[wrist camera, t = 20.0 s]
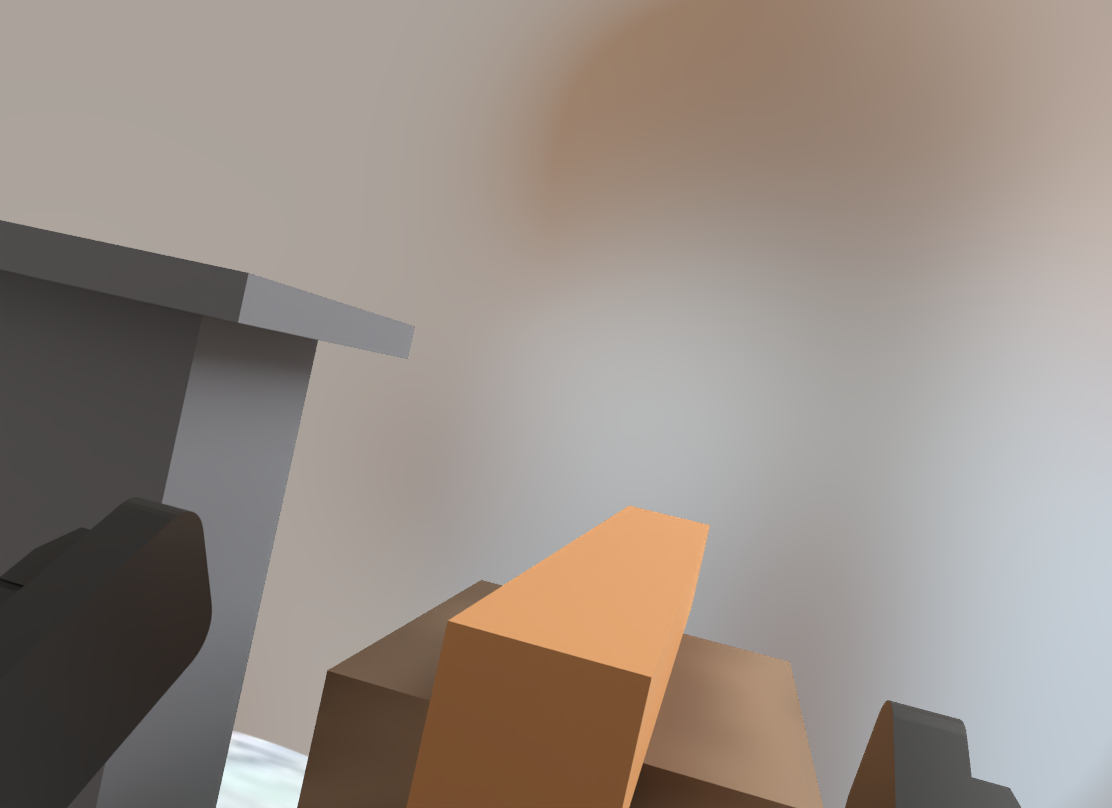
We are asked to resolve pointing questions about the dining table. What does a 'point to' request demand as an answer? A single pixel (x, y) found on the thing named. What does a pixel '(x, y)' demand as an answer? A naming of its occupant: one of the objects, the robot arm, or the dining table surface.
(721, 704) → the tan upright box
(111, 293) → the tall stand
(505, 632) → the block
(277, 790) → the dining table surface
